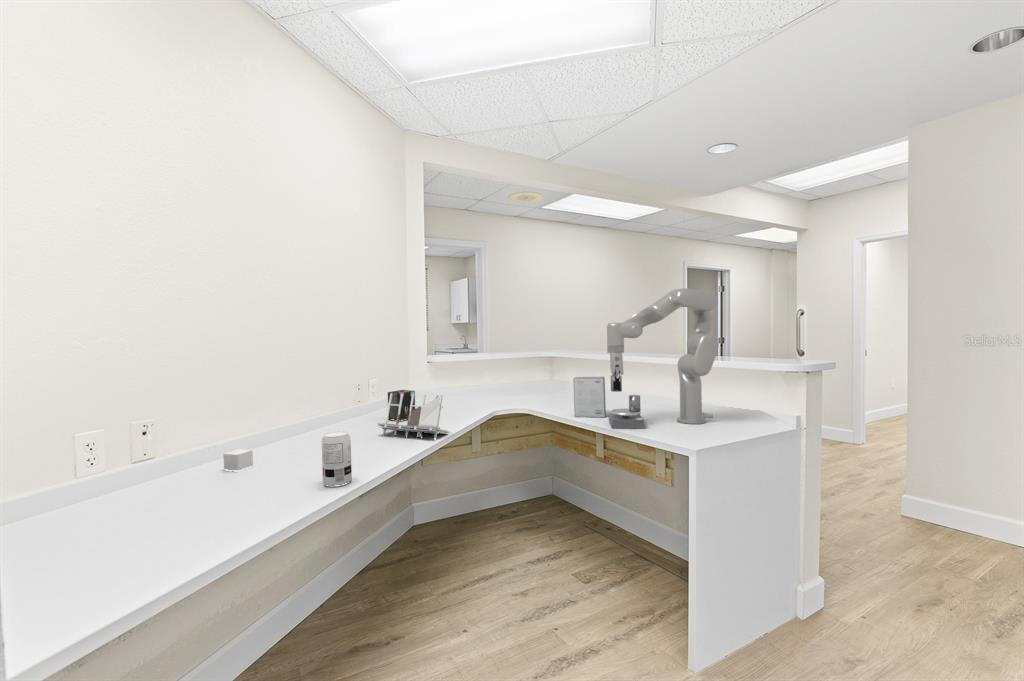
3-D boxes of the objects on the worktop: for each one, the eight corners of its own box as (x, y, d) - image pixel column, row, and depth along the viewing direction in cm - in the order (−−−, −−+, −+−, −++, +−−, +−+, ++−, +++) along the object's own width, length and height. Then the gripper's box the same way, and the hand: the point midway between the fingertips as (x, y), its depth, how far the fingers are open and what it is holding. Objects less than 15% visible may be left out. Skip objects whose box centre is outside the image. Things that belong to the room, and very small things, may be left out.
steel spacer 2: (639, 410, 208) (639, 394, 208) (641, 412, 204) (641, 396, 203) (628, 410, 209) (628, 395, 209) (629, 412, 204) (629, 396, 204)
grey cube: (224, 471, 152) (223, 453, 152) (239, 466, 158) (238, 449, 158) (238, 472, 150) (237, 454, 150) (253, 467, 156) (252, 450, 156)
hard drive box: (606, 414, 233) (605, 376, 233) (605, 417, 226) (604, 378, 225) (575, 414, 237) (575, 376, 237) (574, 416, 230) (573, 377, 229)
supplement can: (317, 484, 136) (315, 435, 136) (342, 477, 143) (340, 429, 142) (332, 489, 131) (330, 438, 131) (357, 481, 138) (355, 433, 137)
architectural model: (424, 437, 180) (432, 385, 185) (366, 432, 191) (375, 383, 197) (449, 442, 197) (456, 394, 203) (395, 437, 208) (402, 392, 214)
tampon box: (400, 421, 228) (399, 393, 228) (387, 420, 233) (387, 392, 233) (416, 418, 237) (415, 390, 237) (403, 416, 242) (402, 389, 242)
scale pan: (638, 414, 212) (638, 408, 212) (642, 419, 200) (642, 413, 200) (610, 414, 214) (609, 408, 214) (612, 419, 201) (612, 413, 201)
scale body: (639, 422, 213) (639, 413, 213) (644, 428, 199) (644, 419, 199) (609, 422, 215) (608, 413, 215) (611, 428, 201) (611, 419, 201)
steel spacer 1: (621, 390, 209) (620, 375, 209) (622, 391, 204) (622, 376, 204) (610, 390, 210) (609, 375, 210) (611, 391, 205) (611, 376, 205)
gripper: (626, 350, 198) (627, 391, 198) (621, 348, 215) (622, 386, 215) (609, 350, 199) (609, 392, 199) (605, 348, 215) (606, 387, 216)
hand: (616, 388), depth 207 cm, fingers closed on steel spacer 1, 5 cm apart
